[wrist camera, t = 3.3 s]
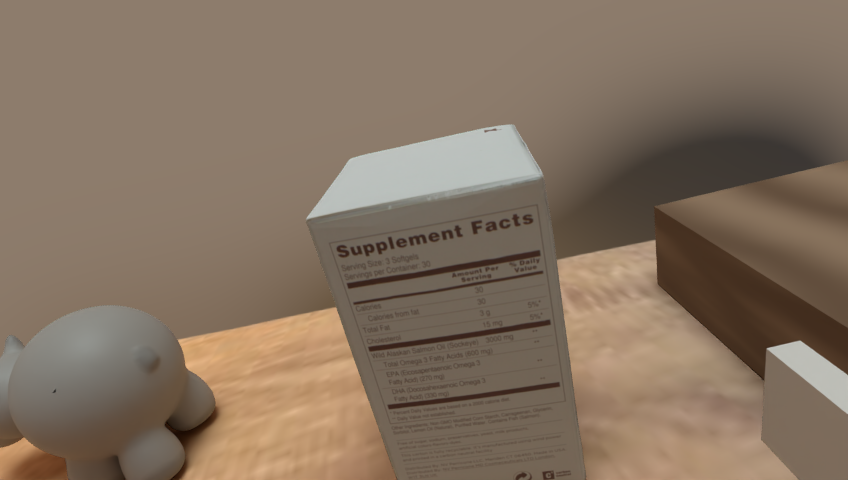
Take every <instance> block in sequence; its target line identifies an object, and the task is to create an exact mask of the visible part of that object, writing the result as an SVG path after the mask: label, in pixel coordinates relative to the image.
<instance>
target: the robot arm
mask: <svg viewBox="0 0 848 480" xmlns="http://www.w3.org/2000/svg"><path fill="white" fill-rule="evenodd" d="M761 440H762V441H763V442H764V443H765V444H766V445H767V446H768V447H769V448H770V449H771V450H772V452H773V453H774V454H775V455H776V456H777V457H778V458H779V459H780V460H781V461H782V462H783V463H784V464H785V465H786V466H787V467H788V469H789V470H790V471H791V472H792V473H793V474H794V475H795V476H796V477H797V478H798V479H799V480H848V375H847V374H846V373H844V372H843V371H842V370H840V369H839V368H837V367H836V366H835V365H833V364H832V363H830V362H829V361H828V360H826V359H825V358H824V357H822V356H821V355H819V354H818V353H817V352H815V351H814V350H813V349H811V348H810V347H808V346H807V345H806V344H804V343H803V342H801V341H796V342H792V343H788V344H783V345H779V346H775V347H770V348H766V364H765V381H764V399H763V416H762V434H761Z"/></svg>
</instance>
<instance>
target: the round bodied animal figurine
mask: <svg viewBox="0 0 848 480" xmlns="http://www.w3.org/2000/svg"><path fill="white" fill-rule="evenodd" d="M214 409H215V398H214V395H213V393H212V391H211V389H210V388H209V386H208V385H207V384H206V383H205V382H204V381H203V380H202V379H201V378H200V377H198V376H197V375H196V374H194V373H192V372H191V371H189V370H188V369H187V368H186V366H185V360H184V355H183V351H182V348H181V346H180V344H179V342H178V340H177V338H176V337H175V336H174V334H173V333H172V332H171V330H170V329H169V328H168V327H167V326H166V325H165V324H163V323H162V322H161V321H160V320H158V319H157V318H155V317H154V316H152V315H150V314H148V313H146V312H143V311H141V310H137V309H134V308H129V307H124V306H96V307H90V308H86V309H82V310H78V311H76V312H73V313H70V314H68V315H65V316H63V317H61V318H59V319H57V320H56V321H54V322H52V323H51V324H49V325H48V326H46V327H45V328H44V329H42V330H41V331H40V332H39V333H38V334H37V335H35V336H34V337H33V338H32V339H31V340H30V342H29V343H28V344H27V345H26V346H24V345H23V343H22V342H21V341H20V340H19V339H18V338H16V337H15V336H13V335H9V336H8V337H7V339H6V342H5V349H4V353H3V355H2V356H1V357H0V448H1V447H6V446H9V445H12V444H14V443H16V442H18V441H19V440H21V439H22V438H23V437H25V438H26V439H27V440H28V441H29V442H30V443H31V444H33V445H34V446H35V447H37V448H39V449H41V450H42V451H45V452H47V453H49V454H52V455H54V456H58V457H61V458H65V461H66V468H67V476H68V479H69V480H125V479H126V480H170V479H171V478H172V477H174V476H175V475H176V474H177V473H178V472H179V471H180V469H181V468H182V466H183V464H184V461H185V451H184V448H183V446H182V444H181V443H180V441H179V440H178V438H177V437H176V436H175V435H174V434H173V433H172V432H171V431H170V430H168V429H167V428H166V427H165V422H167V423H168V424H169V426H171V427H172V428H173V429H175V430H179V431H187V430H190V429H193V428H195V427H197V426H198V425H200V424H201V423H203V422H204V421H205V420H206V419H207V418H208V417H209V416H210V415H211V414H212V413H213V411H214Z"/></svg>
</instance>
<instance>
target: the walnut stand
mask: <svg viewBox="0 0 848 480" xmlns="http://www.w3.org/2000/svg"><path fill="white" fill-rule="evenodd" d="M654 213H655V234H656V257H657V279H658V284H659V285H660V286H661V287H662V288H663V289H664V290H665V291H667V292H668V293H669V294H670V295H671V296H672V297H673V298H674V299H675V300H676V301H678V302H679V303H680V304H681V305H682V306H683V307H684V308H685V309H686V310H688V311H689V312H690V313H691V314H692V315H693V316H694V317H695V318H696V319H697V320H699V321H700V322H701V323H702V324H703V325H704V326H705V327H706V328H707V329H709V330H710V331H711V332H712V333H713V334H714V335H715V336H716V337H717V338H718V339H720V340H721V341H722V342H723V343H724V344H725V345H726V346H727V347H728V348H730V349H731V350H732V351H733V352H734V353H735V354H736V355H737V356H738V357H739V358H741V359H742V360H743V361H744V362H745V363H746V364H747V365H748V366H749V367H751V368H752V369H753V370H754V371H755V372H756V373H757V374H758V375H759V376H761V377H762V378H763V379H764V380H765V364H766V348H770V347H775V346H779V345H783V344H788V343H792V342H796V341H801V342H803V343H804V344H806V345H807V346H808V347H810V348H811V349H813V350H814V351H815V352H817V353H818V354H819V355H821V356H822V357H824V358H825V359H826V360H828V361H829V362H830V363H832V364H833V365H835V366H836V367H837V368H839V369H840V370H842V371H843V372H844V373H846V374H847V375H848V160H847V161H843V162H839V163H835V164H830V165H826V166H822V167H818V168H813V169H809V170H805V171H801V172H797V173H793V174H788V175H784V176H780V177H776V178H772V179H768V180H763V181H759V182H755V183H751V184H746V185H742V186H738V187H734V188H730V189H725V190H722V191H717V192H713V193H709V194H705V195H700V196H696V197H692V198H688V199H683V200H680V201H675V202H671V203H667V204H662V205H658V206H655V207H654Z"/></svg>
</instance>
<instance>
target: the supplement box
mask: <svg viewBox="0 0 848 480" xmlns="http://www.w3.org/2000/svg"><path fill="white" fill-rule="evenodd" d="M306 223H307V226H308V228H309V231H310V234H311V237H312V239H313V242H314V245H315V248H316V251H317V253H318V257H319V259H320V263H321V266H322V268H323V271H324V273H325V276H326V279H327V282H328V285H329V288H330V291H331V293H332V296H333V299H334V301H335V304H336V308H337V311H338V314H339V316H340V319H341V322H342V325H343V328H344V331H345V334H346V337H347V340H348V343H349V346H350V349H351V351H352V354H353V357H354V360H355V363H356V366H357V368H358V371H359V374H360V377H361V380H362V383H363V385H364V388H365V391H366V394H367V397H368V399H369V402H370V405H371V408H372V411H373V414H374V416H375V419H376V422H377V425H378V427H379V430H380V433H381V436H382V439H383V442H384V445H385V447H386V450H387V453H388V456H389V459H390V461H391V464H392V467H393V469H394V472H395V475H396V477H397V480H585V479H586V472H585V465H584V458H583V451H582V444H581V438H580V431H579V425H578V419H577V412H576V404H575V397H574V389H573V381H572V374H571V366H570V358H569V351H568V343H567V336H566V328H565V321H564V314H563V306H562V298H561V291H560V283H559V275H558V267H557V260H556V252H555V244H554V238H553V231H552V226H551V219H550V212H549V206H548V199H547V193H546V187H545V182H544V176H543V174H542V171H541V170H540V168H539V166H538V165H537V163H536V162H535V160H534V158H533V157H532V155H531V153H530V152H529V150H528V148H527V145H526V143H525V142H524V141H523V140H522V138H521V137H520V135H519V133H518V132H517V130H516V128H515V126H514V125H503V126H495V127H489V128H483V129H479V130H474V131H469V132H464V133H460V134H455V135H451V136H447V137H442V138H438V139H433V140H429V141H424V142H420V143H415V144H411V145H407V146H403V147H398V148H393V149H389V150H383V151H379V152H375V153H370V154H366V155H361V156H358V157H354V158H351V159H350V160H349V161H348V162H347V164H346V165H345V167H344V168H343V169H342V171H341V172H340V174H339V175H338V176H337V178H336V179H335V181H334V182H333V183H332V185H331V186H330V187H329V189H328V190H327V192H326V193H325V194H324V196H323V197H322V198H321V200H320V201H319V202H318V204H317V205H316V206H315V208H314V209H313V211H312V212H311V213H310V214H309V216H308V217H307V218H306Z"/></svg>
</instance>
